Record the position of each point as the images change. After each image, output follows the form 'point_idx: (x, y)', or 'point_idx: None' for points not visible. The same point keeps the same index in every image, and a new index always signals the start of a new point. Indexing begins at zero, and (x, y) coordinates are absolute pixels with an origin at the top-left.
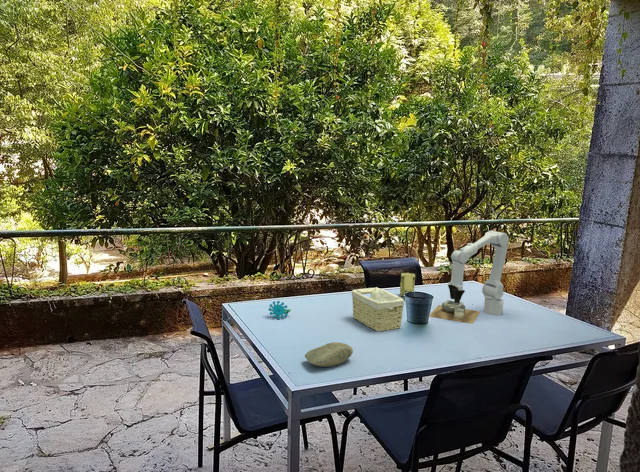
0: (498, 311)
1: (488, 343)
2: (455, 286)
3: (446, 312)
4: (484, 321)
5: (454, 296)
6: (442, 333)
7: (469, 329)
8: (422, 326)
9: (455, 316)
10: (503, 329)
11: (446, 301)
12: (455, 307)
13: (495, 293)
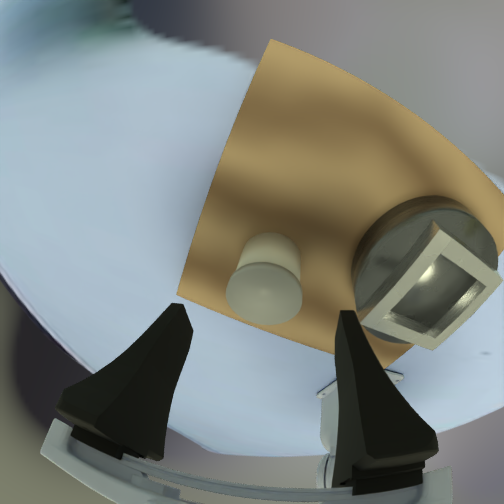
0: (326, 411)
1: (36, 270)
2: (236, 484)
3: (386, 212)
4: (265, 348)
5: (141, 351)
6: (36, 129)
7: (123, 258)
8: (93, 21)
9: (253, 243)
10: None
11: (481, 266)
12: (376, 291)
13: (317, 476)
